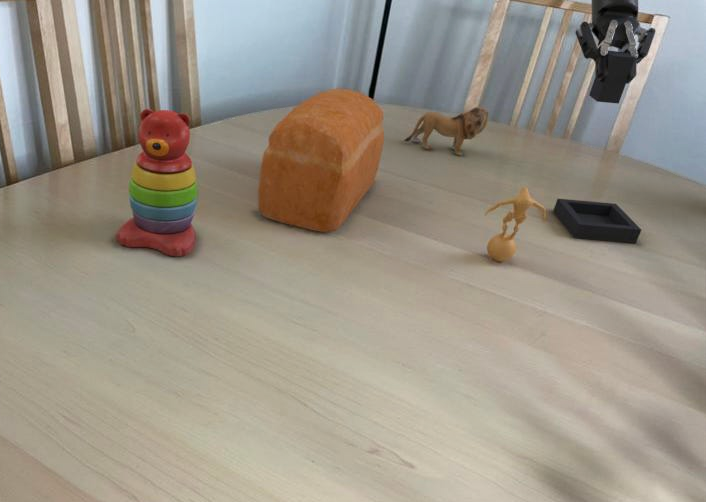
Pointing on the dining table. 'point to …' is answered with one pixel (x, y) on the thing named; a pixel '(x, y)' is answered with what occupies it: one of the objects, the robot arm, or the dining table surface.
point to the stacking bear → (162, 187)
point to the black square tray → (596, 221)
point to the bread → (321, 160)
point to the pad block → (613, 78)
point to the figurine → (504, 244)
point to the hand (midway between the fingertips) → (616, 79)
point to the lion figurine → (451, 126)
